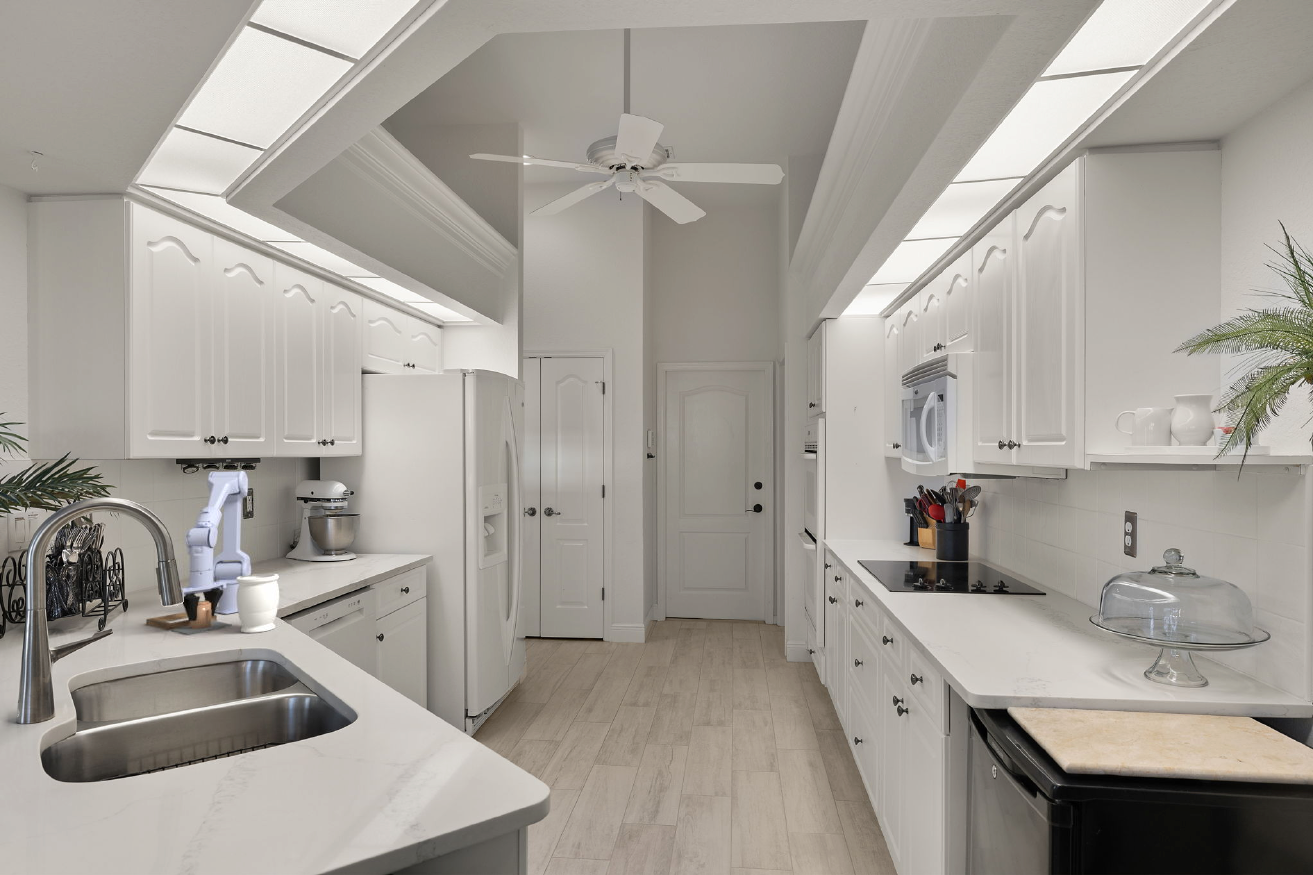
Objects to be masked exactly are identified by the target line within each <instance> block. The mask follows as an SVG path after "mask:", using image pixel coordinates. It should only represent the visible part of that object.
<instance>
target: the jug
mask: <svg viewBox="0 0 1313 875" xmlns="http://www.w3.org/2000/svg"><path fill="white" fill-rule="evenodd" d="M211 618H212V610H211V602H209V601H205V600H199V602H198V607H197V619H196V621H190V629H202V628H207V627H210V626H211Z"/></svg>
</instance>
